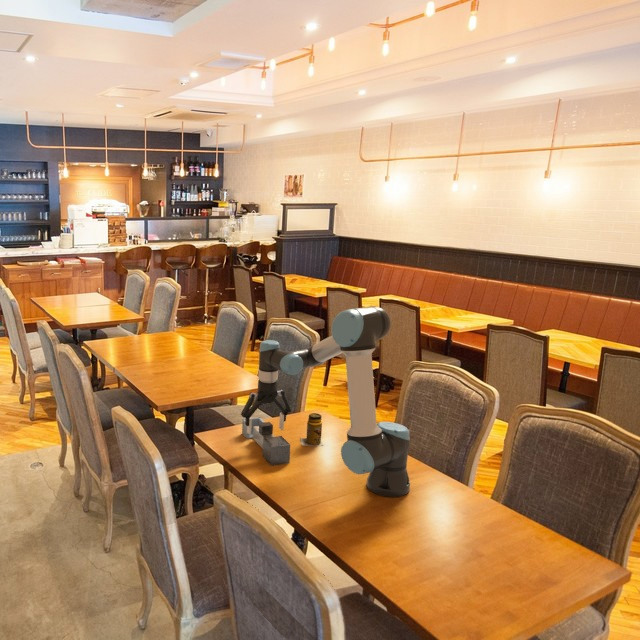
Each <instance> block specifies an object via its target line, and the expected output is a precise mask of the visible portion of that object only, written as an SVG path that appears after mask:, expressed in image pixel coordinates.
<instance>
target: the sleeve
mask: <svg viewBox="0 0 640 640" xmlns="http://www.w3.org/2000/svg"><path fill="white" fill-rule="evenodd" d="M262 458H264V460H265V461H266V462H267V463H268V464H269V465H270V466H271V467H273V466H279V465H285V464H290V459H291V444H290V443H289V441H288V440H286V439H285V438H284V436H282V435H278V436H275V437H269V438H263V449H262Z"/></svg>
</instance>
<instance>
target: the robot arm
mask: <svg viewBox="0 0 640 640" xmlns="http://www.w3.org/2000/svg"><path fill="white" fill-rule="evenodd" d="M391 328H392V320H391V317H390V314H389V313H388V312H387V311H386V310H385V309H384V308H382V307H380V306H375V305H373V306H372V305H371V306H367V307H357V308H356V307H355V308H348V309H346V310H342V311H340V312H339V313H337V315H336V316H335V317H334V319H333V321H332V323H331V335H330V336H328V337H326V338H324V339H323V340H321V341H319V342H317V343H314V344H313V345H311V346H308V347H306V348H302V349H297V350H296V349H295V350H292V351H286V350H282V349H280V348H281V346H280V342H278V341H277V340H273V339H267V340H263V341H261V342H260V345H259V350H258V351H259V352H258V353H259V354H258V355H259V356H258V376H257V377H258V378H257V379H258V381H257V391H256V393H255V392H252V391H251V392H249V395H248V399H247V401H246V403H245V404H244V407H243V409H242V410H241V412H240V416H241V417H242V418H243V419H245V425H246V426H247V433H248V434H249V435H250V434H251V427H252V418H253V417H252V416H253V415H254V414H255V412H256V411H257V410H258V409H259V407H261V406H262V405H263V404H264V405H265V404H272V403H274V404H275V406H276V407H277V408H278V409H279V411H281V412H280V413H279V420H278V421H279V422H278V428H279V430H281V431H284V427H285V426H284V425H285V422H286V421H287V415H288V413H291V412H292V410H291V407H290V405H289V403H288V400H287V398H286V397H285V394H286V393H285V391H284V390H283V389H281V388H280V389H279V390H278V379H279V378H278V377H279V376H278V375H279V371H280V372H282V373H285V374H288V375H292V376H296V375H298V374H299V373H300V372H301V371H302V370H304V369H308V368H313V367H319V366H321V365H324V364H325V363H326V361H328V360H330V359H333V358H334V357H336V356H339V355H341V354H343V355H344V356H345V365H346V367H345V368H346V369H345V370H346V379H347V380H346V381H347V392H348V394H347V395H348V407H349V408H348V409H349V418H350V427H349V429H348V430H347V431H346V439H347V440H346V441H345V442H344V443H343V445H341V448H340V455H341V459H342V461H343V463H344V465H345V467H347V468H348V470H350V471H351V472H352V473H353V474H356V475H365V474H368V476H367V479H366V487H367V489H369V491H371V492H372V493H374V494H376V495H379V496H381V497H387V498H398V497H402V496H406V495H407V494H408V493H409V492H410V488H411V487H410V486H411V482H410V478H409V473H408V469H407V466H408V457H409V456H408V455H409V447H410V440H411V439H410V430H409V429H408V428H407V426H405V425H402V424H400V423H397V422H391V421H380V422H378V423H377V412H376V396H375V386H374V385H375V384H374V383H375V382H374V372H373V371H374V369H373V356H372V353H373V352H374V351H375V350H376V347H377V346H376V341H380V340H382V339H383V338H385V337H387V336H388V334H390V331H391ZM278 396H279V397H280V399H281V402H282V403H283V406H284V407H283V406H282V405H281V403H280V402H279V401H278V400H277V399H276V398H277V397H278ZM254 401H255V402H254Z"/></svg>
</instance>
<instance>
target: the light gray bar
mask: <svg viewBox="0 0 640 640" xmlns="http://www.w3.org/2000/svg"><path fill="white" fill-rule="evenodd" d="M264 422H265V423H259V426H254V427H253V438H252V440H254V442H256V444H257V445H259V447H260V448H261V449H262V450H263V438H269V437H276V436H275V435H274V434H273V433H274V432H273V431H274V424H273V423H272V422H270V421H267V422H266V421H264Z"/></svg>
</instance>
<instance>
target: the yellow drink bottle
mask: <svg viewBox="0 0 640 640" xmlns="http://www.w3.org/2000/svg"><path fill="white" fill-rule="evenodd" d="M306 422H307V425H306V438H304V437H300V443H301V446H302V447H303V446H304V447H305V446H307V447H311V446H312V447H322V446H324V445H323V443H322V431H323V430H322V427H323V421H322V414H320V413H316V412H313V413H309V414H308V419H307V421H306Z"/></svg>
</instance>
